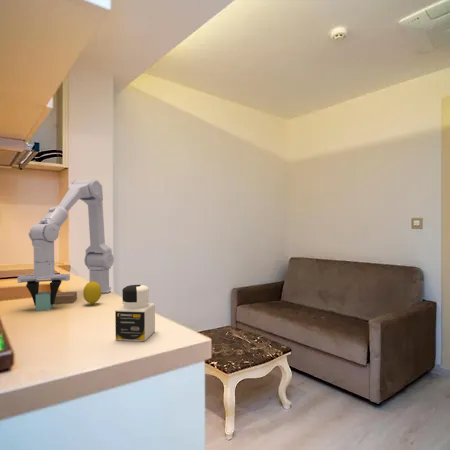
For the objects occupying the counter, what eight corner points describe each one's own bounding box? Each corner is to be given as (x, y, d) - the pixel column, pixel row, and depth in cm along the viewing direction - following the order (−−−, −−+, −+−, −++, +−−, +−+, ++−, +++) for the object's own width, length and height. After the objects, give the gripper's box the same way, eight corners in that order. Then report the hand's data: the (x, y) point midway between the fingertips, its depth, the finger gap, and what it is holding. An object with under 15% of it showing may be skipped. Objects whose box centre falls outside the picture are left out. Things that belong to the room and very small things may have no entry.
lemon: (97, 306, 107) (97, 282, 107) (80, 306, 107) (80, 282, 107) (103, 302, 113) (103, 279, 113) (87, 302, 113) (87, 279, 113)
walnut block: (55, 300, 117) (55, 292, 117) (76, 299, 119) (76, 291, 119) (50, 305, 110) (50, 296, 110) (73, 304, 112) (73, 295, 112)
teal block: (39, 307, 106) (39, 292, 106) (53, 306, 107) (52, 291, 107) (35, 310, 103) (35, 294, 103) (50, 309, 104) (49, 294, 104)
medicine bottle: (115, 340, 76) (114, 288, 76) (128, 330, 83) (127, 282, 83) (144, 341, 75) (144, 289, 75) (155, 331, 82) (155, 283, 82)
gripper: (13, 263, 99) (14, 309, 99) (66, 262, 103) (66, 305, 103) (21, 261, 106) (22, 303, 106) (70, 259, 110) (71, 300, 110)
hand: (44, 304), depth 105 cm, fingers closed on teal block, 4 cm apart
